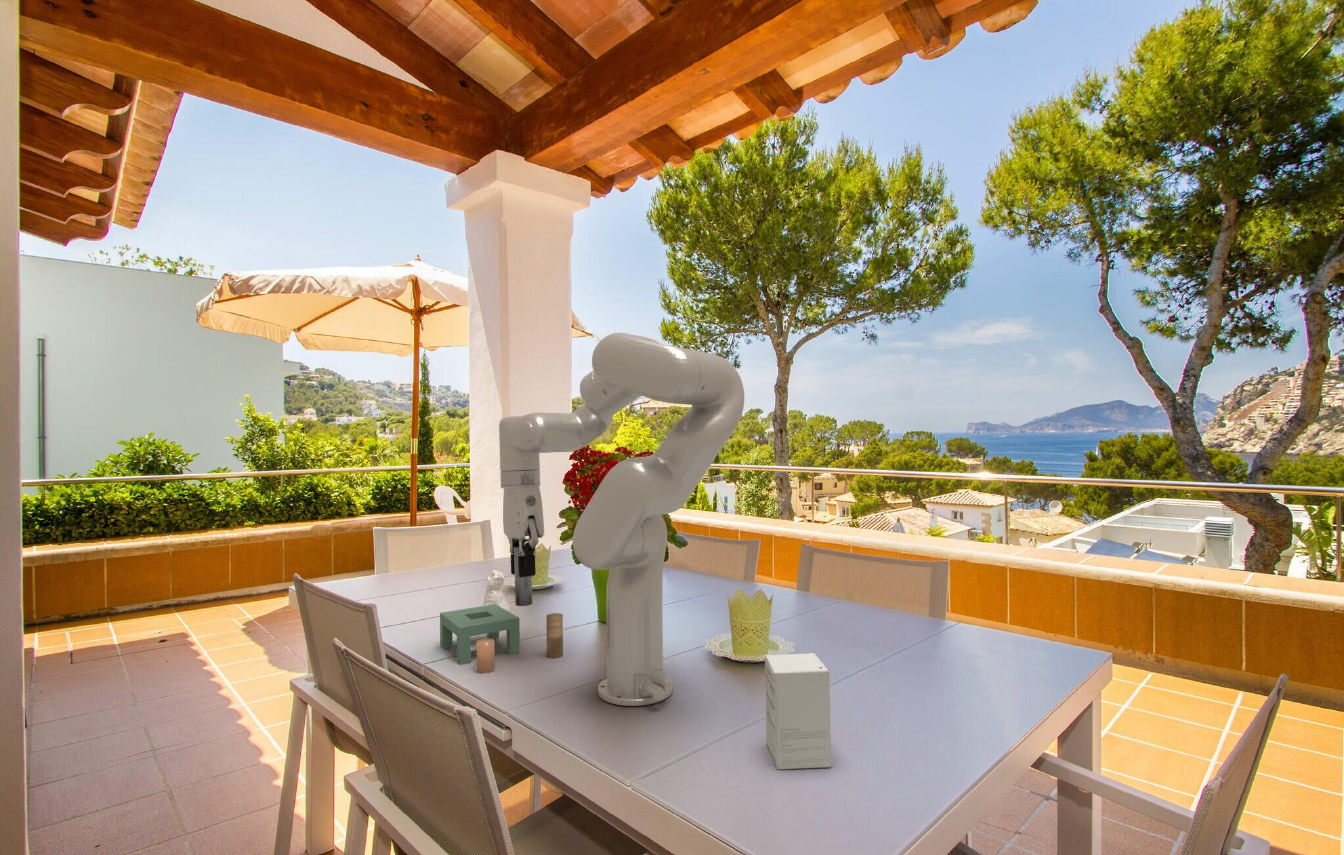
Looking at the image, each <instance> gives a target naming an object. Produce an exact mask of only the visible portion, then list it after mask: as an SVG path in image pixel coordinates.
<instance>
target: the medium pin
mask: <svg viewBox="0 0 1344 855" xmlns="http://www.w3.org/2000/svg"><path fill="white" fill-rule="evenodd" d="M563 616H564V615H563V613H559V612H555V613H554V612H553V613H548V614H547V615H546V617H545V618H546V622H545V624H546V657H547V658H548V659H558V658H559V659H560V658H562V657H563V656H564V631H563V630H564V629H563V628H564V627H563V626H564V625H563V624H564V620H563V618H564V617H563Z"/></svg>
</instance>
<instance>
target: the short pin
mask: <svg viewBox="0 0 1344 855" xmlns="http://www.w3.org/2000/svg"><path fill="white" fill-rule="evenodd" d="M495 654H496V651H495V639H492V638H487V637H484V638H481V639H478V640H477V641H476V672H477V673H479V674H490V673H492V672H494V671H495V670H496V669H495V667H496V666H495V662H496V660H495V658H496V657H495Z"/></svg>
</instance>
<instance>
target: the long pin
mask: <svg viewBox="0 0 1344 855" xmlns="http://www.w3.org/2000/svg"><path fill="white" fill-rule="evenodd" d="M518 556H520V548H519V546H517V547H514V569H515V575H514V593H515V595H514V597H515V601H514V604H515V606H517V607H527V606H531V605H533V604H534V603H533V579H532V578H533V576H528V577H519V570H518Z"/></svg>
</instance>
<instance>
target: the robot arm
mask: <svg viewBox="0 0 1344 855" xmlns="http://www.w3.org/2000/svg"><path fill="white" fill-rule="evenodd" d="M591 366H592V367H591V368H592V369H593V370H592V371H590V372H589V373H587V374H586V375H584V377H583V378H581V380H580V383H579V393H580V397H581V400H582V401H583V403H584V404H582V405H581V406H579V407H578V408H576V409H575V410H574V411H572V412H570V413H561V412H531V413H527V414H525V415H516V416H514V415H512V416H507V417H503V418H501V419H500V421H499V423H498V433H499V436H498V437H499V439H498V440H499V463H500V464H499V470H500V472H499V475H500V489H503V499H502V501H503V502H502V524H503V525H502V526H503V533H504V536H506V537H507V540H508V544H509V552H510V574H511V575H514V576H515V569H514V547H517V546H519V548H520V556H518V570H519V577H528V576H532V577H533V576H536V554H537V553H536V547H537V546H538V544H539V542H540V540H539V539H542V538H543V537H544V536H545V523H544V522H545V521H544V509H543V507H544V506H543V500H542V492H541V488H540V487H541V467H540V466H541V465H540V460H541V459H540V454H547V453H549V454H550V453H570V452H575V451H578V450H580V449H583V448H584V447H587V445H589V444H591V443H593V442H594V441H595V440H597V439H598V438H600V437H601V436H602V435H604V434H605V433H606V432H607V430H608V429H609V427H610V426H611V424H612V421H613V418H614V416H615V415H616V414H617V413H619V412H620V411H622V410H623V409H624V408H626V407H627V406H629V405H630V404H632V403H633V402H635V401H636V400H638V399H640V398H641V397H645V398H648V399H650V400H654V401H658V402H661V403H667V404H674V405H685V406H687V405H688V406H691V407H690V409H689V410H688V411H687V413H685V414H684V415H683V416H682V417H681V418H680V419H679V420H678V421H677V422H676V423H675V424H674V425H673V426H672V427H671V429H670V430H669V431H668V433H667V434H666V436H665V439H664V440H663V441H662V443H661V444H660V446H658V448H657V449H656V450H655V451H654V453H652V454H651V455H648V456H636V457H629V458H626V459H624V460H621V461H620V462H618V463H617V464H615V465H614V466H613V467H611V469H609V471H608V472H607V473H606V474H605V475H604V478H603V479H602V480H601V482H600V484H599V485H598V486H597V489H596V490H595V492H594V494H593V495H592V497H591V498H590V500H589V501H588V503H587V504H586V506H585V508H584V510H583V512H581V514H580V517H579V519H578V520H577V522H576V525H575V527H574V531H573V535H572V546H573V552H574V554H575V557H576V559H577V560H578V561H579V563H581V564H582V565H583V566H584V567H586V568H589V569H591V570H596V571H605V570H609V573H608V577H607V582H606V603H605V606H606V678H605V679H603V680H602V681H601V682H599V684H598V686H597V694H598V696H599V698H601V699H602V700H603V701H605V702H606V703H610V704H614V705H618V706H627V707H628V706H629V707H636V706H637V707H639V706H640V707H641V706H647V705H648V706H649V705H652V704H656V703H659V702H662V701H664V700H666V699H667V698H669V697H670V696H671V695H672V693H673V683H672V681H671V680H670V679H669V678H667V677H666V670H665V669H664V651H663V650H664V638H663V637H664V632H663V631H664V629H663V628H664V626H663V625H664V624H663V597H664V596H663V578H664V577H663V574H664V565H665V564H664V562H665V558H666V551H667V544H668V529H667V523H666V521H665V519H664V517H663V515H666V514H667V515H668V514H670V513H674V512H677V511H678V510H680V509H681V508H682V507H683V506H684V505H685V504H686V503H687V501H688V500H689V499H690V497H691V495H692V494H693V492H694V491H695V489H696V488H697V486H698V485H699V483H700V482H701V480H702V479H703V477H704V476H705V474H706V473H707V471H708V470H709V468H710V467H711V466H712V464H713V462H714V460H715V459H716V457H717V456H718V454H719V453H720V452H721V451H722V449H723V448H724V446H725V445H726V443H727V442H728V440H729V439H730V437H732V435H733V433H734V432H735V430H736V429H737V426H738V425H739V423H740V420H741V418H742V415H743V412H744V406H745V389H744V384H743V381H742V378H741V376H740V374H739V371H737V369H736V368H735V367H734V365H733V364H732V363H731V362H730V361H728V360H727V359H725V358H723V357H722V356H719V355H717V354H713V353H711V352H706V351H705V352H704V351H701V350H700V351H699V350H694V349H693V350H692V349H689V348H684V347H677V346H674V345H668V344H665V343H660V342H659V341H657V340H655V339H652V338H650V337H646V336H642V335H636V334H632V333H626V332H614V333H613V332H612V333H610V334H608V335H606V336H605V337H603V338H602V339H601V340H600V341H599V342H598V343H597V344H596V346H595V347H594V350H593V352H592V357H591ZM526 537H528V538H526Z"/></svg>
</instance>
